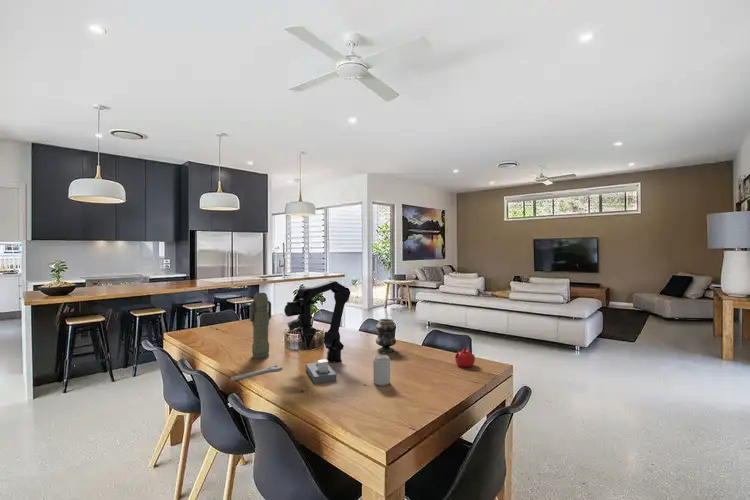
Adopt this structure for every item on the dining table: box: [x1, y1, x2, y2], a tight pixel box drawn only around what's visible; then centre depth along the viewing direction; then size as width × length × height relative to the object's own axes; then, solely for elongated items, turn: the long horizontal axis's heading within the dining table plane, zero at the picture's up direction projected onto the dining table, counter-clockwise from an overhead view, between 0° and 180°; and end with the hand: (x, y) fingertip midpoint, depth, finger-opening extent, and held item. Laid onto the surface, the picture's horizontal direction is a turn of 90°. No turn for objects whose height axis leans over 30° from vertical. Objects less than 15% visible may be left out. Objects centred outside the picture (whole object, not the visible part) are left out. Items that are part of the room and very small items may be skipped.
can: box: [372, 354, 391, 387], centre depth 166 cm, size 8×8×12 cm
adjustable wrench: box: [230, 364, 283, 382], centre depth 179 cm, size 25×6×2 cm, turn 130°
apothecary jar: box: [375, 318, 397, 353], centre depth 219 cm, size 12×12×18 cm
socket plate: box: [305, 362, 338, 385], centre depth 177 cm, size 10×20×3 cm, turn 21°
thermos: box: [249, 292, 272, 360], centre depth 207 cm, size 9×12×35 cm
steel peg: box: [317, 358, 329, 375], centre depth 172 cm, size 4×4×8 cm
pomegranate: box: [454, 347, 476, 368], centre depth 191 cm, size 10×10×9 cm
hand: (305, 345), depth 185 cm, fingers open, 9 cm apart
